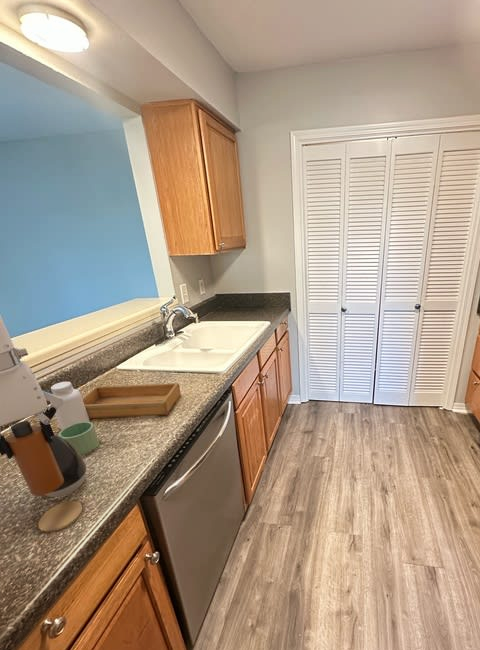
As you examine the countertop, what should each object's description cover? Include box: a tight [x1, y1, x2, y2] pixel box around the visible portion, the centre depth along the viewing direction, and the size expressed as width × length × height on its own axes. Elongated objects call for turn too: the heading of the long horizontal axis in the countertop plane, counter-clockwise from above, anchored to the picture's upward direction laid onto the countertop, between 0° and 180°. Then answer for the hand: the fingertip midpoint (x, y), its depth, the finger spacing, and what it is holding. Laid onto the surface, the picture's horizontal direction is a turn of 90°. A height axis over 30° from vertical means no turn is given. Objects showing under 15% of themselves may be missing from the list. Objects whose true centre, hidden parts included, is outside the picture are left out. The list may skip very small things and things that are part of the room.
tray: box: [81, 382, 182, 420], centre depth 114 cm, size 31×15×6 cm, turn 92°
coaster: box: [37, 500, 83, 533], centre depth 71 cm, size 8×8×1 cm
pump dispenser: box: [44, 434, 87, 498], centre depth 76 cm, size 10×10×15 cm
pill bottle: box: [50, 381, 91, 431], centre depth 102 cm, size 8×8×15 cm
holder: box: [57, 421, 100, 456], centre depth 93 cm, size 8×8×6 cm
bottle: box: [5, 420, 64, 497], centre depth 64 cm, size 6×6×15 cm
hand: (30, 446), depth 64 cm, fingers closed on bottle, 5 cm apart
